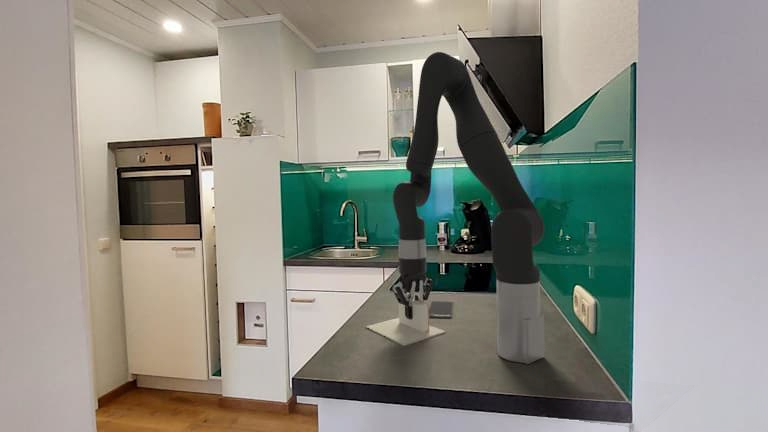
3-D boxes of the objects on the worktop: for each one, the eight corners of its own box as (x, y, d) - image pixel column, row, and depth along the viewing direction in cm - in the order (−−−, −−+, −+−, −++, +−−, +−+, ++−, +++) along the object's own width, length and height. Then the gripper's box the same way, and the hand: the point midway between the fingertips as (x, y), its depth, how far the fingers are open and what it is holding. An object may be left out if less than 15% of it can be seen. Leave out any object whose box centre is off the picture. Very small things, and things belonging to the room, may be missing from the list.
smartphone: (453, 301, 133) (451, 315, 117) (453, 304, 133) (451, 319, 117) (431, 301, 134) (426, 314, 119) (431, 304, 135) (426, 318, 119)
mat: (445, 332, 106) (445, 331, 106) (403, 346, 98) (403, 344, 98) (405, 317, 120) (405, 315, 120) (366, 327, 112) (366, 326, 112)
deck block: (429, 330, 107) (428, 304, 106) (422, 332, 105) (421, 306, 105) (406, 320, 115) (405, 296, 114) (399, 322, 114) (398, 298, 113)
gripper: (400, 260, 102) (402, 326, 103) (440, 254, 110) (441, 315, 111) (383, 256, 108) (385, 319, 109) (422, 250, 116) (423, 309, 117)
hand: (413, 317), depth 110 cm, fingers closed on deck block, 2 cm apart
